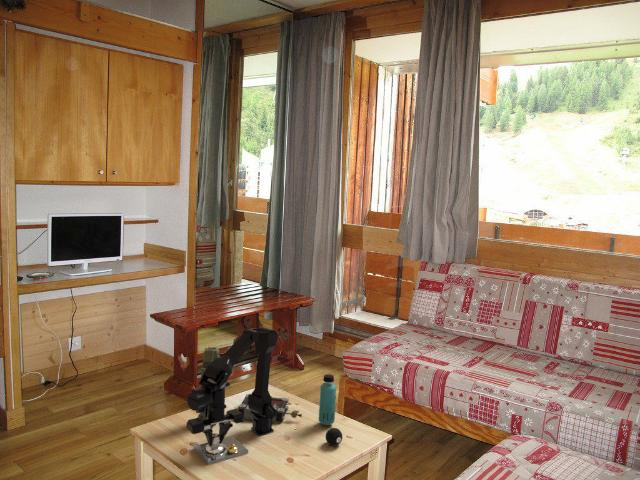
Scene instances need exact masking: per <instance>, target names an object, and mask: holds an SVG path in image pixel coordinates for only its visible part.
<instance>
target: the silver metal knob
mask: <svg viewBox="0 0 640 480" xmlns="http://www.w3.org/2000/svg"><path fill="white" fill-rule="evenodd" d="M223 451H224V445H223V444H222V443H221V444H220V434H219V432H218V433H217V432H216V433H213V434H212V445H211V447H210V446H209V444H208V445H207V446H206V453H207V454H209V455H218V454H222V453H223Z"/></svg>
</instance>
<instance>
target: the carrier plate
mask: <svg viewBox="0 0 640 480" xmlns="http://www.w3.org/2000/svg"><path fill="white" fill-rule="evenodd" d="M222 444H223V445H224V451H223V453H222V454H218V455H209V454H207V453H206V446H207V445H208V442H204V443H201V444H199V443H198V442H193V450H194V451H195V452H196V454H197V455H198V456H199V457H200V458H201V460H203V461H204V462H205V463H206V465H208V466H209V465H212V464H216V463H219V462H222V461H226V460H229V459H233V458H236V457H239V456H242V455H246V454H247V455H248V454H249V449H247V448H246V447H245V446H244V445H243V444H242V443H241V442H240V441H239V440H238V439H237V438H235V436H233V435H231V436H230V435H229V436H227V437H224V439H223V441H222Z"/></svg>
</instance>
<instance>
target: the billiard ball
mask: <svg viewBox="0 0 640 480" xmlns="http://www.w3.org/2000/svg"><path fill="white" fill-rule="evenodd" d="M325 441H326V442H327V444H329V446H333V447H334V446H339V445H340V444H341V443H342V441H343V433H342V431H341V430H340V429H339V428H337V427H330V428H329V429H328V430H327V431H326V433H325Z"/></svg>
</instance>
